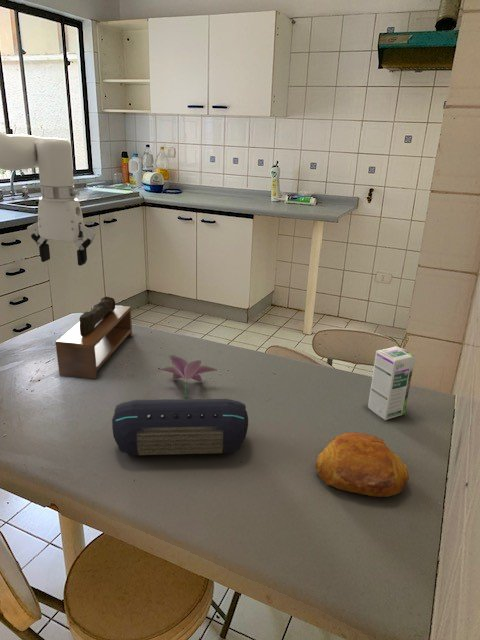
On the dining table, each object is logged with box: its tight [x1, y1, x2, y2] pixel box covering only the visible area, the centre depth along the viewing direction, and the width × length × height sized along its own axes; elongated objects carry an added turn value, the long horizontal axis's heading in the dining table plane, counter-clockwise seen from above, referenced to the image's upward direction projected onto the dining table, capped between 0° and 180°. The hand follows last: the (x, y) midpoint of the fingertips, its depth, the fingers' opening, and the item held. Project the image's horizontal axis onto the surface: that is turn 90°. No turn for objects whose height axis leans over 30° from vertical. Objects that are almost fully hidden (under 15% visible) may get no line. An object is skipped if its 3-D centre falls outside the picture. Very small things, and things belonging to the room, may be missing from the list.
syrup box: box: [367, 345, 416, 421], centre depth 100 cm, size 6×6×14 cm
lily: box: [159, 354, 218, 399], centre depth 106 cm, size 12×12×10 cm
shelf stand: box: [54, 304, 133, 380], centre depth 121 cm, size 9×26×9 cm, turn 173°
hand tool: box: [79, 296, 117, 336], centre depth 118 cm, size 19×4×5 cm, turn 172°
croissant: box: [314, 431, 410, 498], centre depth 82 cm, size 14×16×8 cm
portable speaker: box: [111, 398, 249, 456], centre depth 86 cm, size 25×10×10 cm, turn 95°
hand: (63, 262), depth 117 cm, fingers open, 9 cm apart
